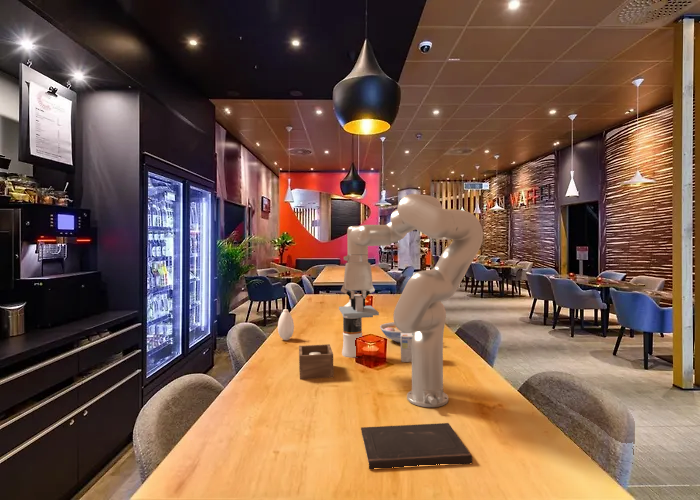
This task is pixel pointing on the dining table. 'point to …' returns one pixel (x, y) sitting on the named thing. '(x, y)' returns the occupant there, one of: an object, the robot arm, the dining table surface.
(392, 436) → the hardcover book
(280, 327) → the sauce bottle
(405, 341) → the light bulb box
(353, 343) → the vodka
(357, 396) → the dining table surface
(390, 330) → the ramen bowl
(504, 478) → the dining table surface
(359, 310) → the lid
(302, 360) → the walnut box
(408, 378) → the dining table surface
